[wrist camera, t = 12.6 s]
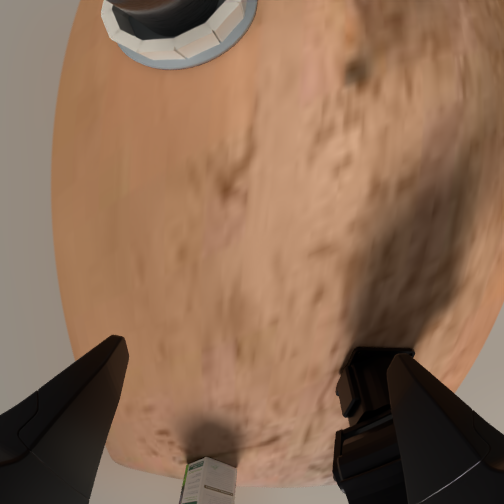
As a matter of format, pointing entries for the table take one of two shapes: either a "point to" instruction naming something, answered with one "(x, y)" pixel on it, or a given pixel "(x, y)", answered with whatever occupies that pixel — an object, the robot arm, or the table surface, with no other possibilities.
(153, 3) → the lens
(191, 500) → the syrup box
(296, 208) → the table surface
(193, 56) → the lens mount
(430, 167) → the table surface
